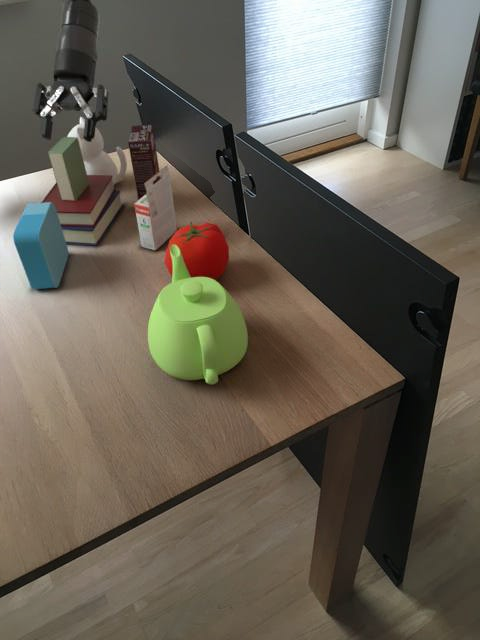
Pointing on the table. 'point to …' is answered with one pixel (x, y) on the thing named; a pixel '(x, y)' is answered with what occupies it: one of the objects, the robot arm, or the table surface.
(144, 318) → the table surface
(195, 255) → the tomato
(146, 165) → the supplement box
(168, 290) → the teapot
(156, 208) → the ink box
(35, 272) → the blue rounded block
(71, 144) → the green rectangular block
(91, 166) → the cat figurine
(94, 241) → the book stack
